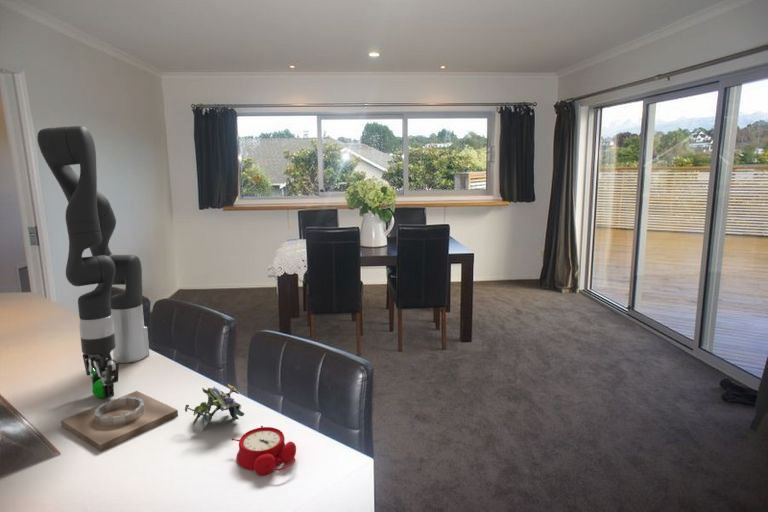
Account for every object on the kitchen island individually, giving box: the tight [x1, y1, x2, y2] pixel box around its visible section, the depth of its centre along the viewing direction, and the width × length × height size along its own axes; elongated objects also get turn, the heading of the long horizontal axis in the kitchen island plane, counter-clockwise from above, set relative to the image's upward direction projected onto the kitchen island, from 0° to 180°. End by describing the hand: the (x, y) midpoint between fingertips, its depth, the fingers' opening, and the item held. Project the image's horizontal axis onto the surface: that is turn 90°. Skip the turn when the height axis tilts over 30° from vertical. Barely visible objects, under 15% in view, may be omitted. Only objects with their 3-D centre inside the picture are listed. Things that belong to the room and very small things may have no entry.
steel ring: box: [94, 397, 144, 426], centre depth 112 cm, size 10×10×2 cm
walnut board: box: [60, 390, 179, 452], centre depth 112 cm, size 18×18×2 cm
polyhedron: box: [91, 379, 115, 399], centre depth 124 cm, size 5×5×5 cm
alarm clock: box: [231, 425, 297, 476], centre depth 97 cm, size 10×6×15 cm
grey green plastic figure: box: [184, 382, 245, 431], centre depth 111 cm, size 11×11×12 cm
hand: (103, 394), depth 124 cm, fingers closed on polyhedron, 5 cm apart
